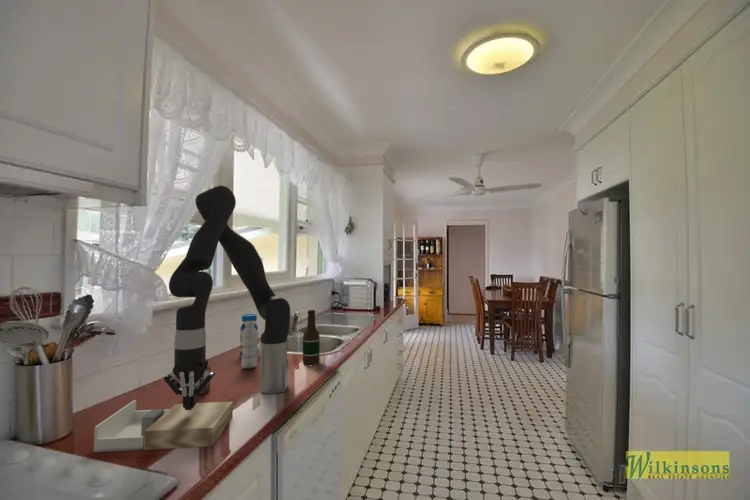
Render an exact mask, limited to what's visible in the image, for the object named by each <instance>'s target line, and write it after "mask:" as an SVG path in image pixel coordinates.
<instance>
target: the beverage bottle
mask: <svg viewBox="0 0 750 500" xmlns="http://www.w3.org/2000/svg"><path fill="white" fill-rule="evenodd" d="M257 318H258V317H257V314H255V313H245V314H242V315H241V322H242V324H241V326H240V327H239V328H240V329H239V331H240V333H239V339H240V340H239V343H240V344H239V346H240V347H239V357H240V358H241V359H242V354H243V342H242V332H243V330H244V329H245V328H246V326H245V322H246V321H254V324H255V325H254V328H255V329H256V331H257V341H256V356H257V357H258V354H259V353H258V343H259V342H258V341H259V337H258V336H259V331H258V330H259V326H258V324H257V323H256V322H257V320H258V319H257Z"/></svg>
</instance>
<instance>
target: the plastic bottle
mask: <svg viewBox="0 0 750 500" xmlns="http://www.w3.org/2000/svg"><path fill="white" fill-rule="evenodd" d="M254 325H255V324H254V321H246V322H245V326H246V328H245V329H244V330H243V332H242V342H243V354H242V358H241V363H240V366H241V367H242V369H246V370H249V369H254V368H256V367H257V365H258V355H257V356H256V341H257V331H258V330H257V331H256V329H255V328H254Z"/></svg>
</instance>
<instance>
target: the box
mask: <svg viewBox="0 0 750 500" xmlns="http://www.w3.org/2000/svg"><path fill="white" fill-rule="evenodd" d="M163 409H164V408H163ZM169 409H170V408H166V409H164V414H165V413H166V412H167V411H168V410H169ZM151 410H152V409H146V410H143V409H140V410H137V399H133V400H132V401H131V402H129V403H127V404H126V405H124V406H123V407H122V408H120V409H119V410H117V411H115V413H112V414H111V415H110V416H109V417H107V418H106V419H104V420H102V421H101V422H100V423H98V424H97V425H95V426H94V435H93V437H94V438H93V440H94V441H93V453H104V452H106V453H108V452H121V451H124V452H125V451H142V450H145V437H144V436H141V428H142V417H143V416H145V415H146V414H147V413H148V412H150V411H151Z"/></svg>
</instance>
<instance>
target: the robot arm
mask: <svg viewBox="0 0 750 500" xmlns="http://www.w3.org/2000/svg"><path fill="white" fill-rule="evenodd" d="M236 203H237V200H236V197H235V194H234V193H233V191H232V190H231V189H230V188H229V187H227V186H225V185H217V186H214V187H211V188H210V189H207V190H205V191H203V192H201V193H199V194H197V195H196V198H195V207H196V208H197V210H198V213H199V214H200V216H201V217H202V218H203V220H204V222H203V224H202V225H201V226H200V228H199V229H198V230H197V231H196V232H195V234H194V235H193V237H192V239H191V241H190V244H189V247H188V250H187V252H186V255H185V257H184V258H183V260H182V261H181V262H180V264H179V265H178V266H177V267H176V269H175V270H174V271H173V273H172V274H171V276H170V279H169V281H168V291H169V292H170V294H171V295H172V296H174V297H175V298H195V299H194V301H193V303H192V304H189V305H184V306H180V307H178V309H177V310H176V312H175V313H176V314H175V318H176V319H175V334H174V342H173V346H174V356H173V358H174V360H173V363H174V366H173V367H172V372H170V373H169V374H167V375H166V376H164V377H163V381H164V382H165V383H166V384H167V385H168V386H169V388H170V389H171V390H172V391H173V393H174V394H175V395H177V396H178V395H179V396H180V395H181V396H182V404H183V408H185V410H192V409H193V407H194V406H195V405H196V403H197V395H196V394H199V393H200V392H201V391H202V390H203V389H204V388H205V387H206V386H207V384H208V383H209V382H210V383H211V381H212V380H213V378H214V377H215V376H216V373H215V372H214V371H212V372H210V371H209V370H207V366H206V363H205V360H206V359H207V358H206V354H207V353H206V352H207V349H206V347H207V344H206V343H207V342H206V341H207V333H206V312H207V307H208V303H209V300H210V295H211V294H212V291H213V285H214V280H213V277H212V276H211V274H210V273H209V272H207V270H209V269H210V267H212V265H213V261H214V258H215V255H216V252H217V251H216V250H217V246H218V243H220V245H221V247H222V248H223V250H224V252H225V254H226V256H227V257H228V259H229V262H230V263H231V265H232V266H233V268H234V270H235V272H236V273H237V275H238V276H239V278H240V279H241V281H242V283H243V284H244V286H245V288H246V289H247V290H248V293H249V294H250V296H251V298H252V301H253V303H254V305H255V307H256V310H257V312H258V314H259V316H260V317H261V319H263V320H264V331H263V332H262V333H261V335H260V360H259V361H260V367H259V368H260V371H259V372H260V373H259V374H260V375H259V379H260V380H259V391H260V392H261V393H262V394H267V395H272V394H275V395H276V394H279V393H285V392H286V391H287V388H288V386H289V385H288V382H289V378H288V377H289V360H288V337H289V334H290V328H291V306H290V303H289V301H288V300H287V299H285V298H284V297H279V296H277V295H276V294H275V292H274V291H273V290H272V288H271V286H270V284H269V283H268V281H267V280H268V279H267V277H266V271H265V267H264V263H263V261H262V257H260V254H259V253H258V250H257V249H256V247H255V245H254V244H253V243H252V242H251V241H249V240H248V239H247V238H245V237H244V236H242V235H241V234H240V233H238V232H236V231H235V230H234V229H233V228H232V227H231V226H230V224H229V223H228V222H229V220H230V218H231V216H232V214H233V212H234V210H235V208H236ZM203 374H204V379H205V380H204V381H203V382H202V384H201V385H200V386H199V387H198V388H197V386H198V382H199V379H200V378H201V377H202V376H203Z"/></svg>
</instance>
